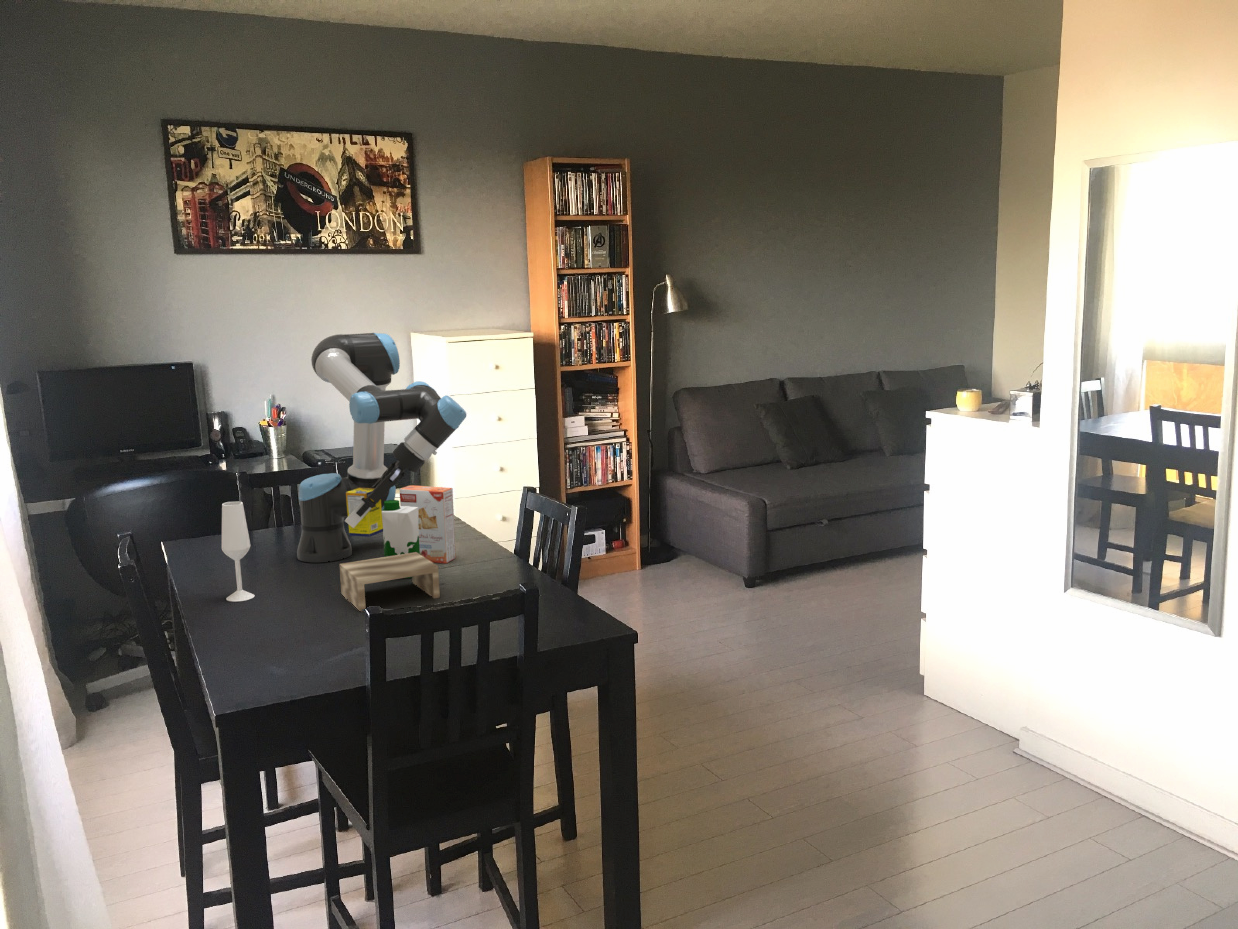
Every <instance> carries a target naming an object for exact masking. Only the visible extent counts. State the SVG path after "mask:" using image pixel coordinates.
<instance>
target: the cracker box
mask: <svg viewBox="0 0 1238 929" xmlns="http://www.w3.org/2000/svg"><path fill="white" fill-rule="evenodd" d="M453 493H454V491H453V488H452V487H446V486H445V487H442V486H430V485H429V486H427V485H413V484H412V485H407V486H403V487H402V488H400V489H399V504H400V506H410V507H419V508H418V527H419V546H420V555H422V556H423V557H425V558H426V559H428V560H429V561H431V562H432V563H434V564H436V563H437V564H444V565H445V564H448V563H450V562H452V561H454V560H455V559H456V557H457V556H456V538H455V536H456V535H455V534H456V532H455V514H454V510H455V509H454V494H453Z"/></svg>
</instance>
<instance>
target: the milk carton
mask: <svg viewBox="0 0 1238 929" xmlns="http://www.w3.org/2000/svg"><path fill="white" fill-rule="evenodd" d="M418 508H419V507H410V506H400V499H399V500H398V499H394V500H387V501H384V509H383V510H382V521H383V532H382V538H383V539H382V540H383V543H382V544H383V557H388V556H394V555H401V554H408V553H414V552H417V553H419V554H420V546H419V527H418ZM405 579H412V577H406V578H405Z"/></svg>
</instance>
